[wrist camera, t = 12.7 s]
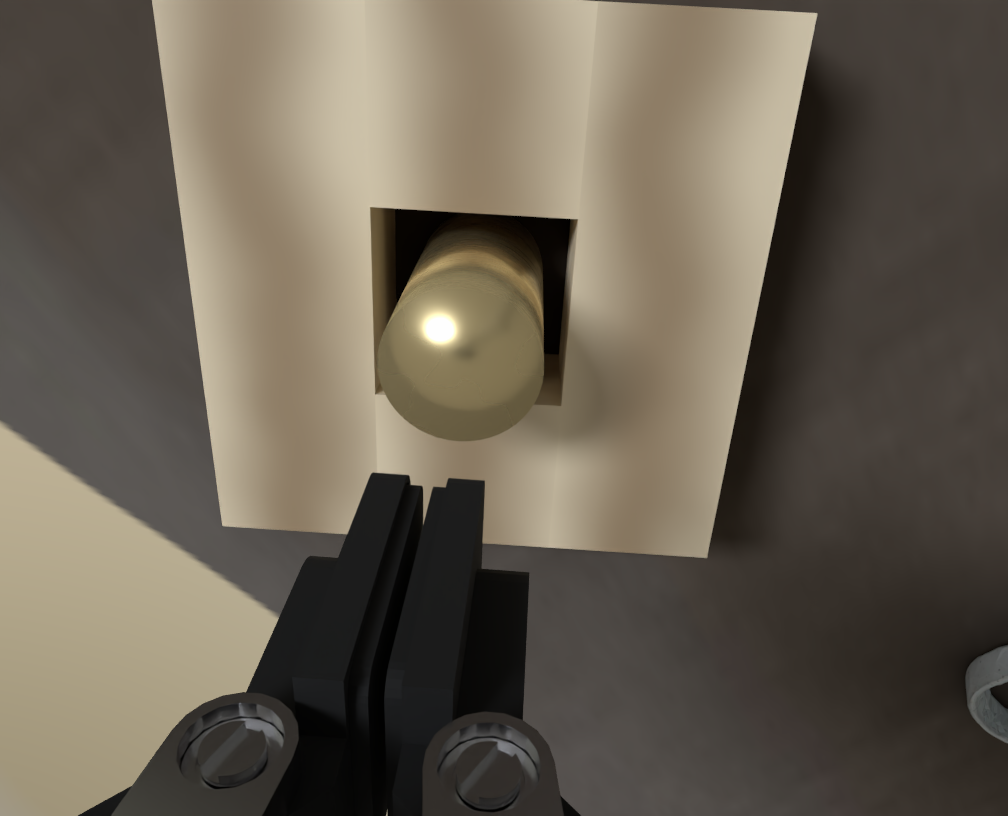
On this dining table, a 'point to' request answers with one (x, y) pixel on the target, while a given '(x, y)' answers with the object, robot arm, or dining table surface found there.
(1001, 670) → the ceramic mug
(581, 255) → the block
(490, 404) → the brass pin
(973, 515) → the dining table surface
